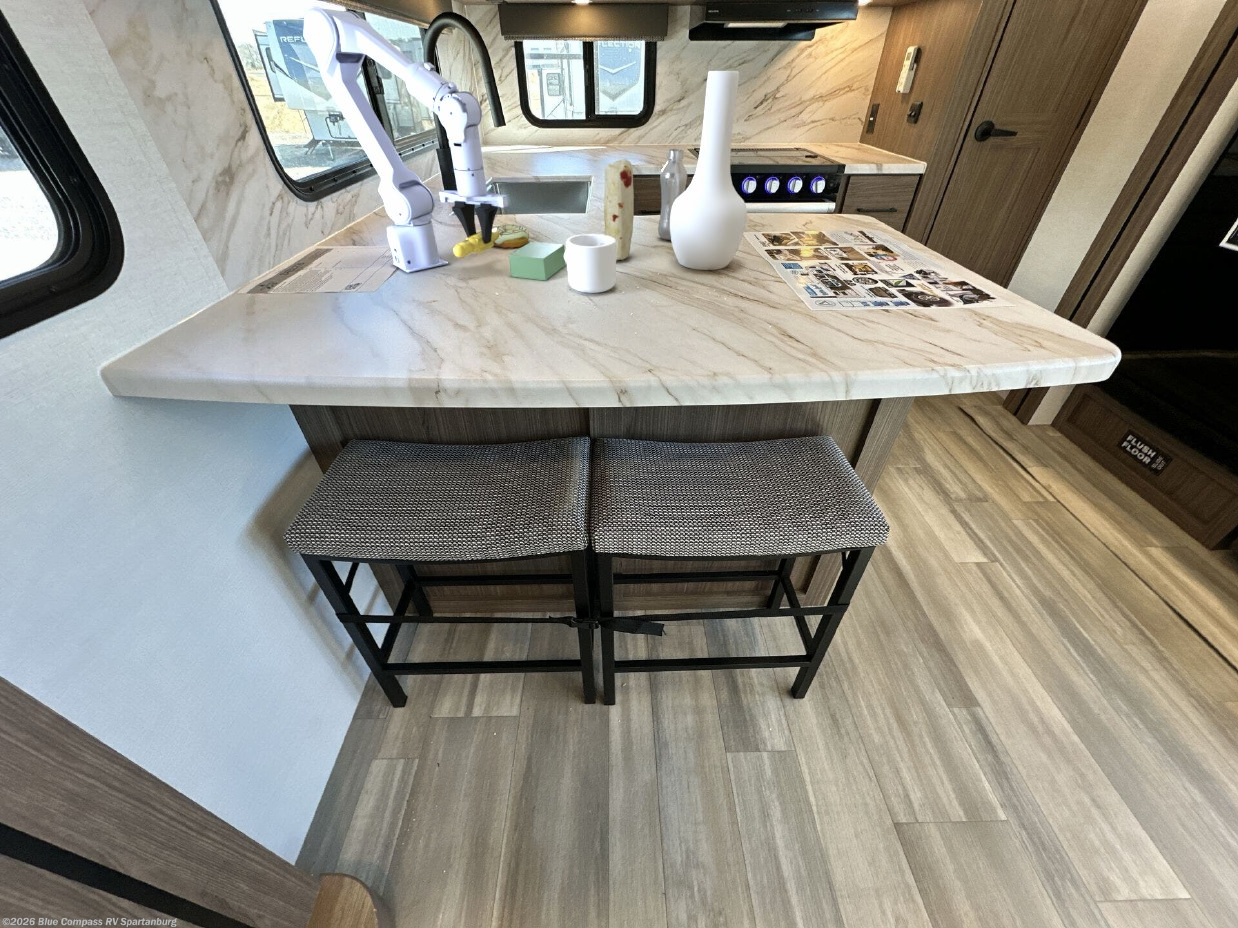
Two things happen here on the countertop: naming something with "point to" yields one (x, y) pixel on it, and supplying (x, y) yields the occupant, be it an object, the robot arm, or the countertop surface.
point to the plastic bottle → (671, 188)
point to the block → (537, 260)
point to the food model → (619, 205)
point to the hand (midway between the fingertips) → (480, 241)
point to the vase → (711, 187)
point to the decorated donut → (511, 236)
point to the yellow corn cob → (474, 244)
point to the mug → (591, 262)
